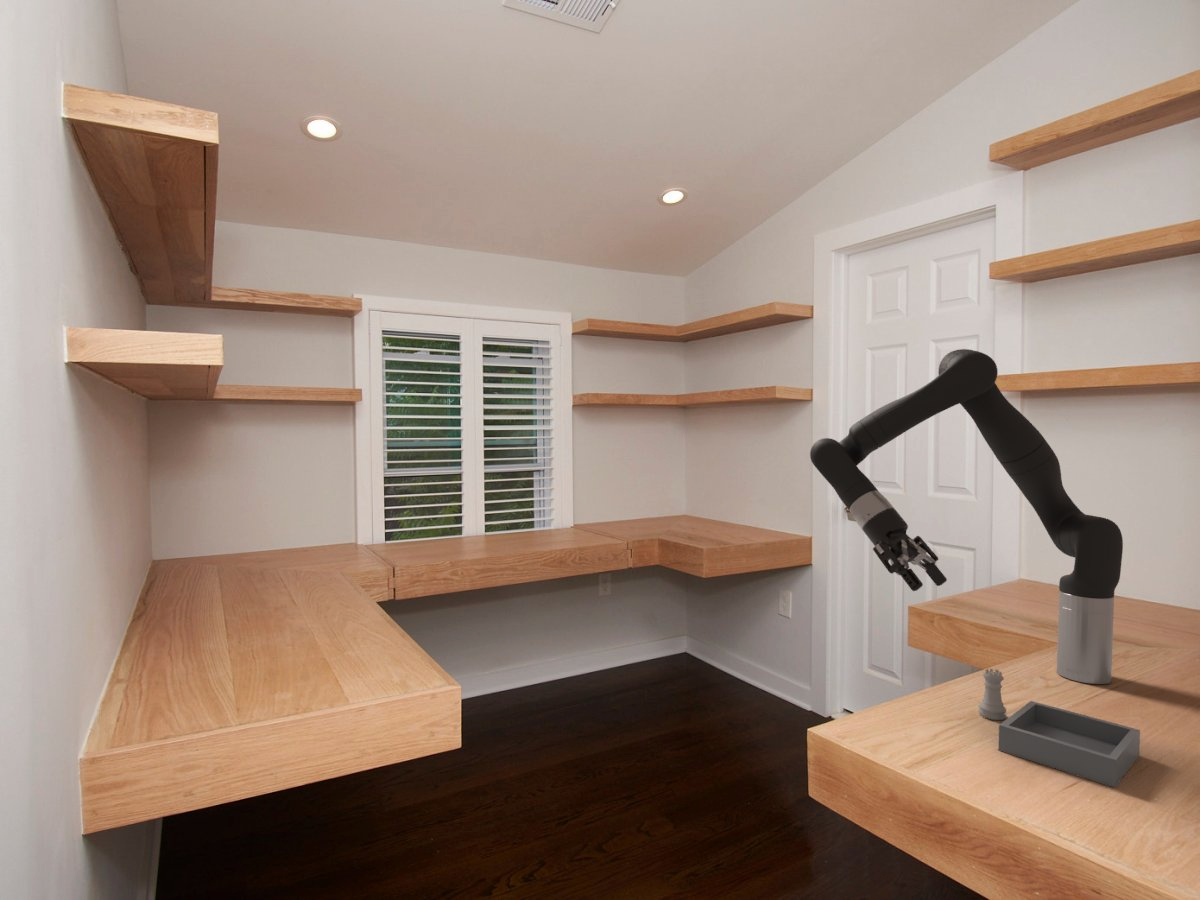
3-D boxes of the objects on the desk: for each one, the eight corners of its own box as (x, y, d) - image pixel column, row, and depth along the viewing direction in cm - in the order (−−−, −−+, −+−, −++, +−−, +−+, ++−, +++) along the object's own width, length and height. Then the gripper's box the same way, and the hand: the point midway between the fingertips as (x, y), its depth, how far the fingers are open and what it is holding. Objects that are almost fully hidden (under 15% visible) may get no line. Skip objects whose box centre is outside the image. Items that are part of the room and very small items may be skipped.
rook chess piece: (971, 712, 123) (973, 668, 123) (990, 709, 124) (991, 665, 124) (993, 723, 119) (995, 677, 118) (1012, 719, 120) (1014, 674, 120)
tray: (1030, 723, 118) (1030, 700, 118) (1139, 755, 107) (1140, 730, 107) (998, 750, 108) (999, 725, 108) (1115, 788, 97) (1115, 760, 97)
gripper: (869, 508, 133) (924, 578, 124) (910, 505, 141) (964, 570, 132) (844, 532, 137) (896, 601, 128) (885, 527, 146) (936, 592, 137)
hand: (930, 586), depth 130 cm, fingers open, 8 cm apart
